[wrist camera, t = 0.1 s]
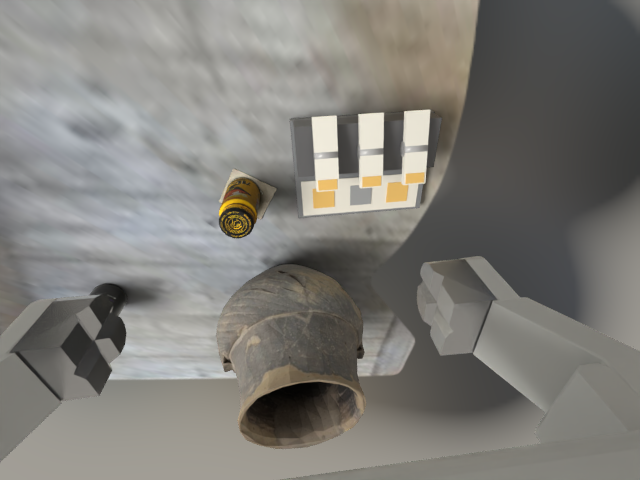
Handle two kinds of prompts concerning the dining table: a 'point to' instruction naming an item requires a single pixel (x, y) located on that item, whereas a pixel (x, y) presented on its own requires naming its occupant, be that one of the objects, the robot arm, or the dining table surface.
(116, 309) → the supplement bottle
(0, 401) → the robot arm
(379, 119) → the switch
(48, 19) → the dining table surface
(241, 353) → the ceramic pot
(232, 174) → the condiment
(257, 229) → the dining table surface
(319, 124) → the switch
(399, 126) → the switch unit
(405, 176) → the switch
